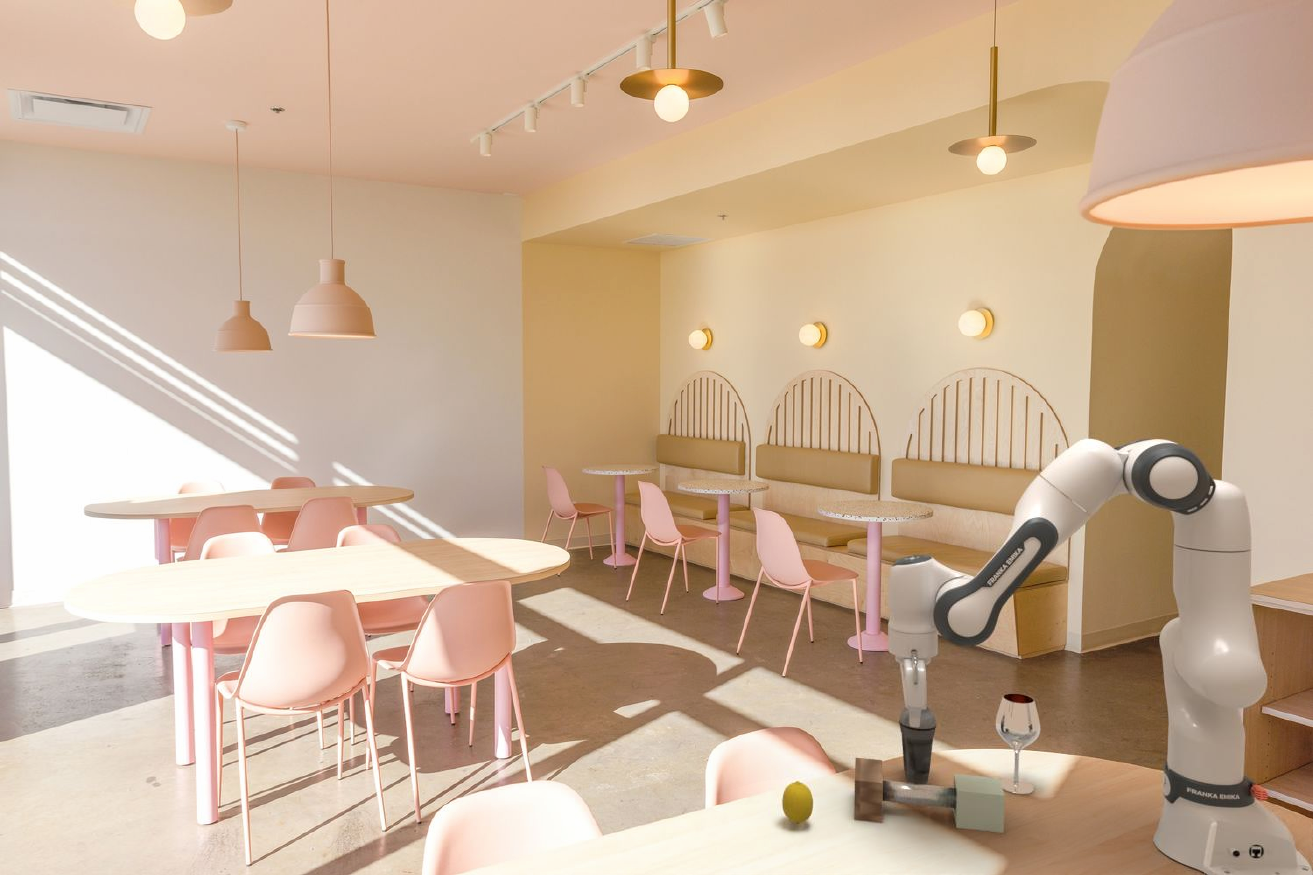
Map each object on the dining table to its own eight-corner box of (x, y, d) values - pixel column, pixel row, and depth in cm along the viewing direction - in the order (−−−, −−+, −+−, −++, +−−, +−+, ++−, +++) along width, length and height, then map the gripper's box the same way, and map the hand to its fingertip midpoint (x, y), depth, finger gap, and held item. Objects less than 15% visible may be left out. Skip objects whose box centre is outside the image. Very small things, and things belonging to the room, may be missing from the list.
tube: (954, 803, 164) (955, 784, 163) (956, 812, 160) (956, 793, 160) (866, 793, 167) (866, 775, 167) (866, 802, 164) (866, 783, 164)
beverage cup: (937, 788, 174) (939, 689, 172) (899, 785, 175) (900, 687, 174) (933, 772, 181) (935, 677, 179) (896, 769, 182) (898, 675, 181)
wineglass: (1045, 796, 170) (1048, 706, 169) (1003, 796, 170) (1005, 705, 169) (1028, 777, 178) (1030, 691, 177) (987, 777, 179) (990, 690, 177)
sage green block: (998, 814, 164) (999, 778, 163) (1003, 832, 157) (1004, 795, 156) (952, 809, 165) (953, 773, 165) (956, 827, 159) (957, 790, 158)
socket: (881, 797, 170) (882, 760, 169) (882, 823, 160) (882, 783, 160) (855, 794, 171) (855, 757, 171) (854, 819, 161) (854, 780, 161)
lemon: (818, 823, 160) (819, 780, 159) (801, 835, 156) (802, 791, 155) (793, 813, 164) (793, 771, 163) (775, 824, 160) (776, 781, 159)
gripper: (934, 661, 152) (935, 739, 153) (927, 628, 172) (927, 698, 172) (897, 659, 153) (897, 736, 154) (893, 627, 173) (894, 696, 174)
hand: (913, 716), depth 163 cm, fingers open, 8 cm apart
